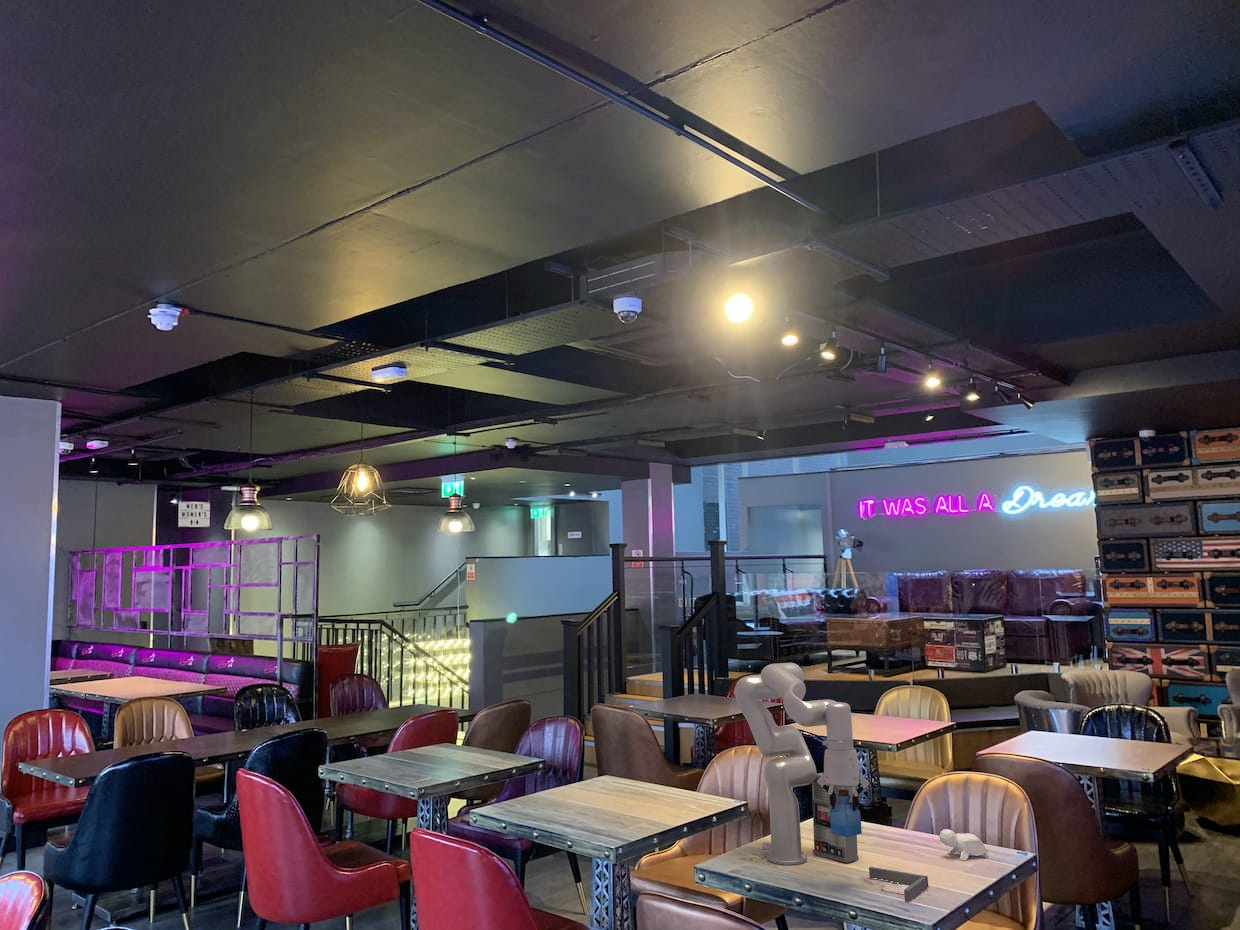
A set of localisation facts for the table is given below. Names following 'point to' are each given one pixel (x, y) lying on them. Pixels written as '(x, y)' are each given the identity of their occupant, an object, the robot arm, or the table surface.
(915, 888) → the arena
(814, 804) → the cassette tape recorder
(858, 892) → the table surface
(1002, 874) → the table surface
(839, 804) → the perfume bottle
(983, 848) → the white turtle figurine
